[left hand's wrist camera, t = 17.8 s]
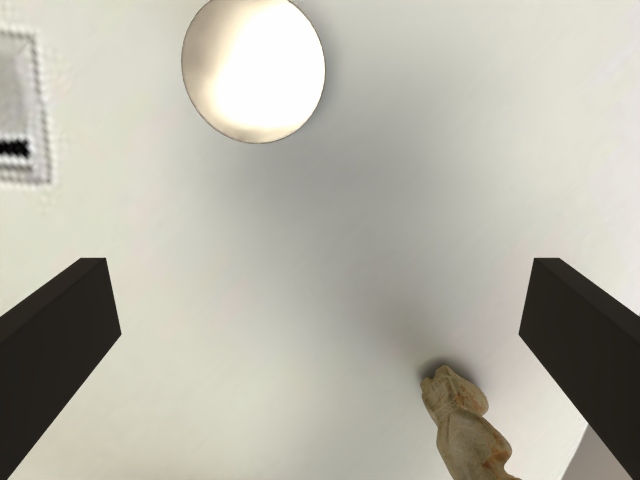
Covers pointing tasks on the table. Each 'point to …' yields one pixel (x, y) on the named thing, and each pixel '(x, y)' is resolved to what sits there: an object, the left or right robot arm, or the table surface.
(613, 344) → the left robot arm
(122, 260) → the table surface
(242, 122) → the canister
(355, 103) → the table surface
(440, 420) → the sculpture
